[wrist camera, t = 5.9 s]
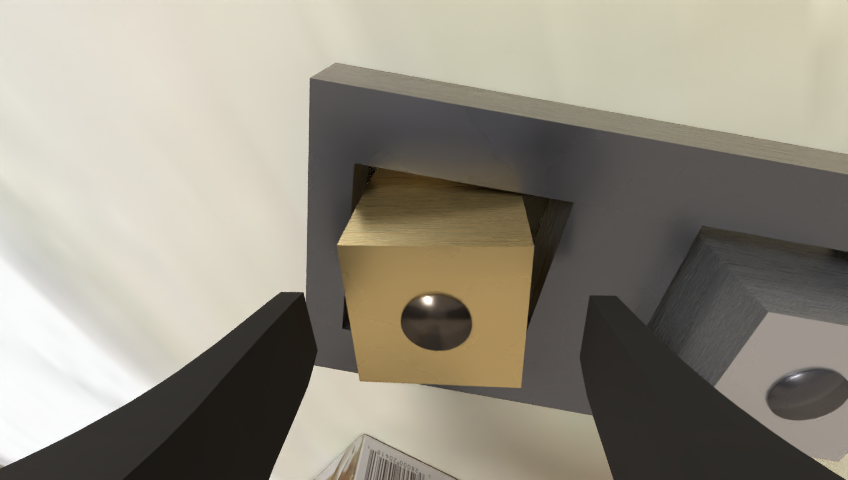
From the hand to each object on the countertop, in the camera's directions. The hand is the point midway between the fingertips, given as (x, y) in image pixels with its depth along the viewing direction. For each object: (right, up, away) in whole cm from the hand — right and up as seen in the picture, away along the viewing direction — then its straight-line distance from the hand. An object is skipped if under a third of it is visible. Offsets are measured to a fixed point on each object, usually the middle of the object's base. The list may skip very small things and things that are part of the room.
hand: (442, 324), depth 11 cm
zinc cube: (+10, +1, +4) cm, 11 cm away
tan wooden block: (0, +3, +4) cm, 5 cm away
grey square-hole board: (+5, +1, +4) cm, 7 cm away
